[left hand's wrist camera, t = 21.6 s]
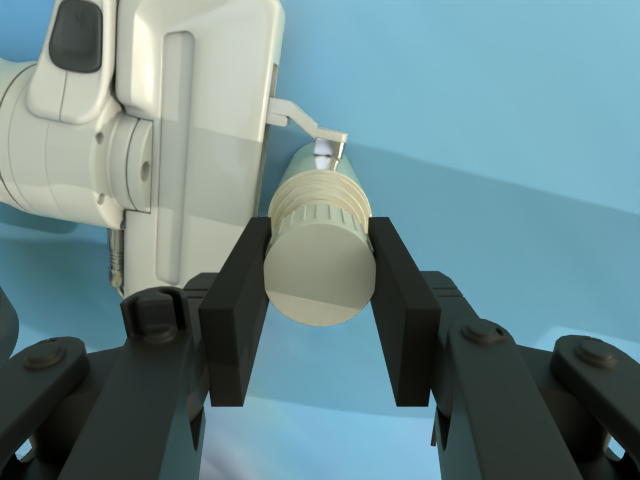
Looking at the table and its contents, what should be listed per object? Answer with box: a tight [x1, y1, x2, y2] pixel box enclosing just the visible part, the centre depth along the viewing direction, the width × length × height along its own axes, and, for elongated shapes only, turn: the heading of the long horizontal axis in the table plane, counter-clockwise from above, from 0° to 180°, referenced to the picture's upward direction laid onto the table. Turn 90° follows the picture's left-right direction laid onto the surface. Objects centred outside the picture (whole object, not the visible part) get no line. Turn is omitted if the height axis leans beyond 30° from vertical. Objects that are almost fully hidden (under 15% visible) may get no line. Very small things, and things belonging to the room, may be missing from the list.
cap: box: [263, 204, 376, 326], centre depth 13 cm, size 4×4×2 cm
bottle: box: [268, 142, 372, 235], centre depth 21 cm, size 5×5×18 cm
